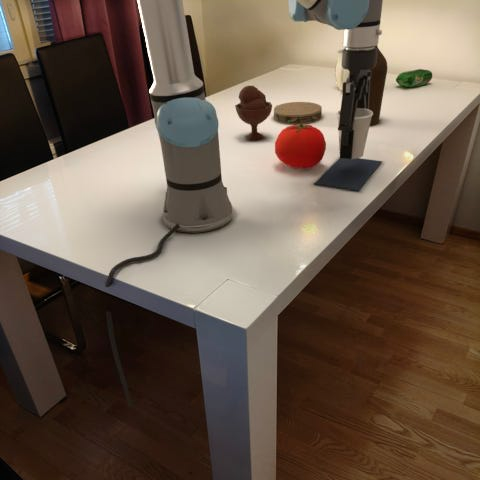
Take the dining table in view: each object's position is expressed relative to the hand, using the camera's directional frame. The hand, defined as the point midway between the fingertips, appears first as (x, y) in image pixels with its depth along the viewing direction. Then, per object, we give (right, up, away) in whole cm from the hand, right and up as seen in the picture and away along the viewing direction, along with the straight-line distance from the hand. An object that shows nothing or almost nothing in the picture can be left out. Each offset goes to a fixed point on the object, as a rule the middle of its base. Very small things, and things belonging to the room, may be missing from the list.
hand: (351, 151), depth 120 cm
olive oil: (+12, +22, +36) cm, 44 cm away
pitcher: (+14, +48, +70) cm, 86 cm away
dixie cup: (0, -1, +1) cm, 1 cm away
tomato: (-12, -1, +9) cm, 15 cm away
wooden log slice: (-8, +27, +44) cm, 52 cm away
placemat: (0, -4, +3) cm, 5 cm away
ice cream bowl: (-23, +14, +29) cm, 40 cm away
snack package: (+40, +50, +70) cm, 94 cm away
